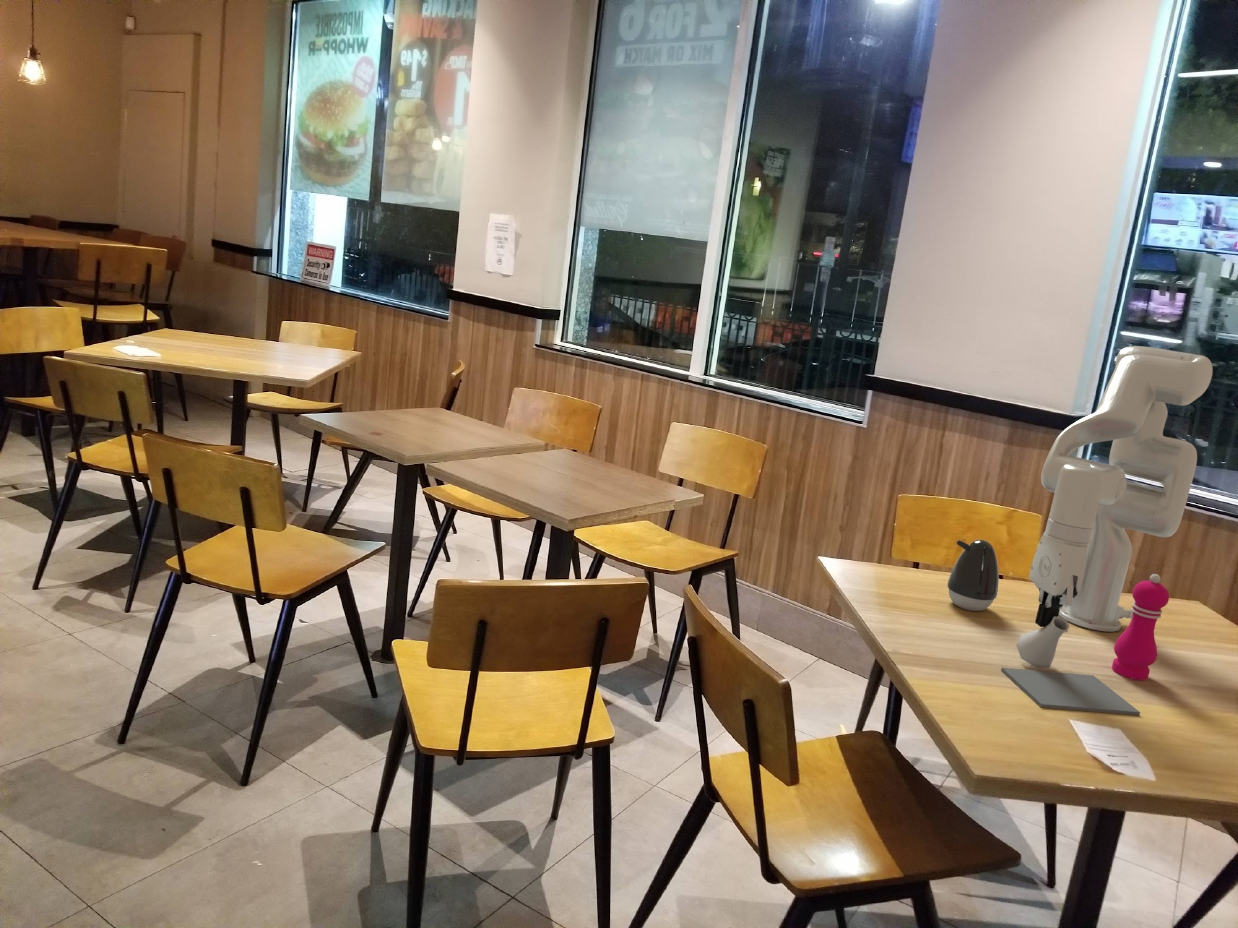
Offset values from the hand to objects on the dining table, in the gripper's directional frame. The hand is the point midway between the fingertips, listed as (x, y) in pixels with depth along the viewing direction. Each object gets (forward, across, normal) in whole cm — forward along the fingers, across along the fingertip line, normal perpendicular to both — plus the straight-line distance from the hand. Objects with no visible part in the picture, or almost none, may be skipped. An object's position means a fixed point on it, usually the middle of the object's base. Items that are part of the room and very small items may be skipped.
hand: (1044, 625), depth 177 cm
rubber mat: (+8, +11, 0) cm, 14 cm away
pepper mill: (+8, 0, +19) cm, 21 cm away
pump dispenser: (+8, -29, 0) cm, 30 cm away
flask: (+6, -2, 0) cm, 6 cm away
